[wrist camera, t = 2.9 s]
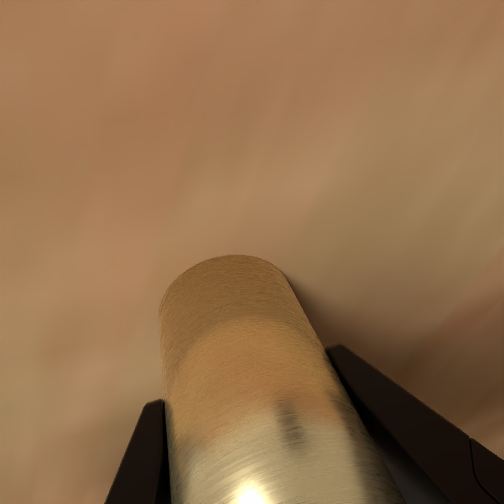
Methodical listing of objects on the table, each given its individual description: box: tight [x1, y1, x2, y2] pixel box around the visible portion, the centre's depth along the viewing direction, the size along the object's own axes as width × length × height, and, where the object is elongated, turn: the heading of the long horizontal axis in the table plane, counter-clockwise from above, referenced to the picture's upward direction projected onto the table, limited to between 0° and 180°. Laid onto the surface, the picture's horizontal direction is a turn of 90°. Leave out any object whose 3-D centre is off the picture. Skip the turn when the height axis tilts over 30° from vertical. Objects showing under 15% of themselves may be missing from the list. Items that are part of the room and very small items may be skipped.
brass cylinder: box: [159, 255, 406, 504], centre depth 8 cm, size 4×4×8 cm
